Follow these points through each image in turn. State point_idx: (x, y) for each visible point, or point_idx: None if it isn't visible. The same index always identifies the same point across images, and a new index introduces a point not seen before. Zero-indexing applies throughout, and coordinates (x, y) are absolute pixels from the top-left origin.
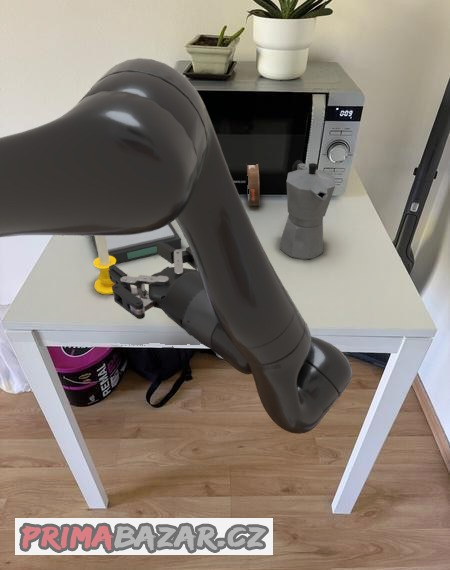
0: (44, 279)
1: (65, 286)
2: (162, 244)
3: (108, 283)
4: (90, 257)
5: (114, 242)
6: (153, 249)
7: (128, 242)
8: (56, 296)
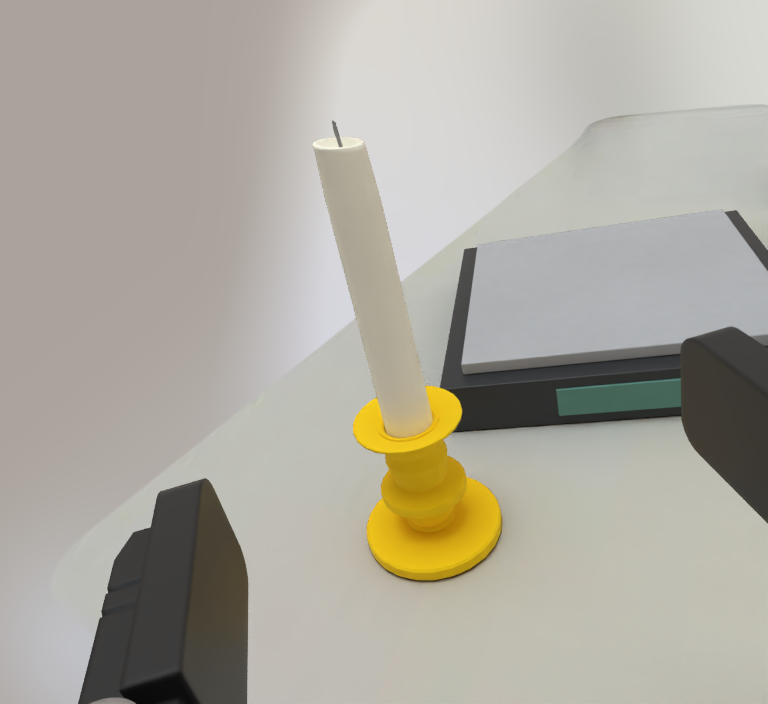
0: (243, 442)
1: (281, 487)
2: (747, 353)
3: (420, 522)
4: (426, 385)
5: (514, 337)
6: None
7: (572, 343)
8: None
